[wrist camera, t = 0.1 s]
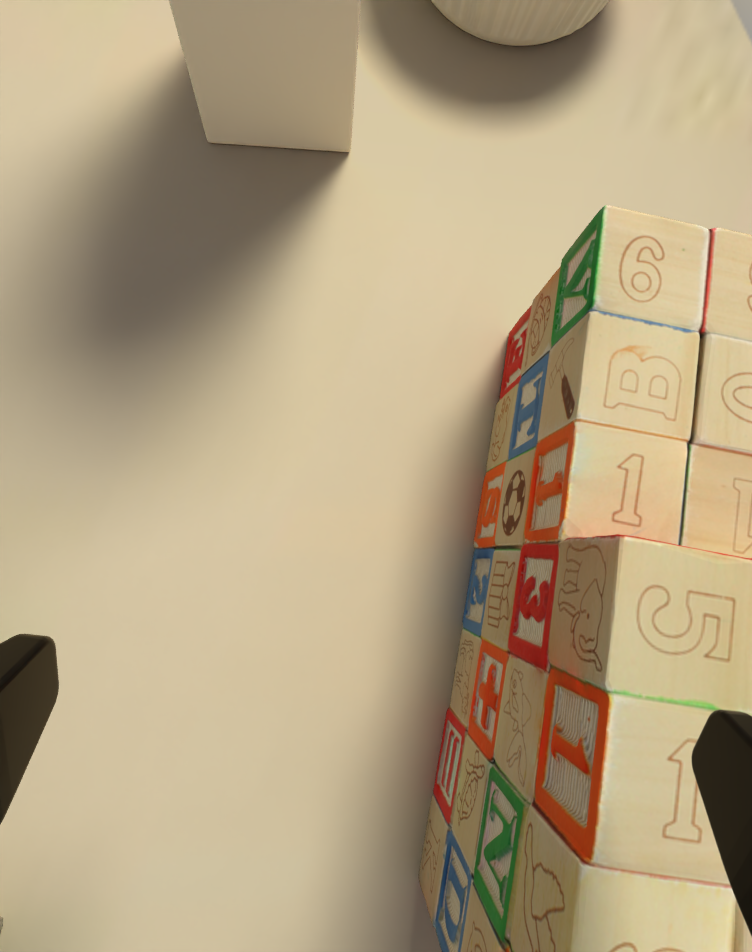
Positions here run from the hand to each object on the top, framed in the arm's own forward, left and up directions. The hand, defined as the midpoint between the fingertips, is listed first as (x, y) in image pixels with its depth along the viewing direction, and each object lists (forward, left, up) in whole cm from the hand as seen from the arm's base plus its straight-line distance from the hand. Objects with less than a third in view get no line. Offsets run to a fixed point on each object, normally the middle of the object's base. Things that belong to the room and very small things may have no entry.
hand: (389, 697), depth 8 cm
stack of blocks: (-2, -7, -15) cm, 17 cm away
